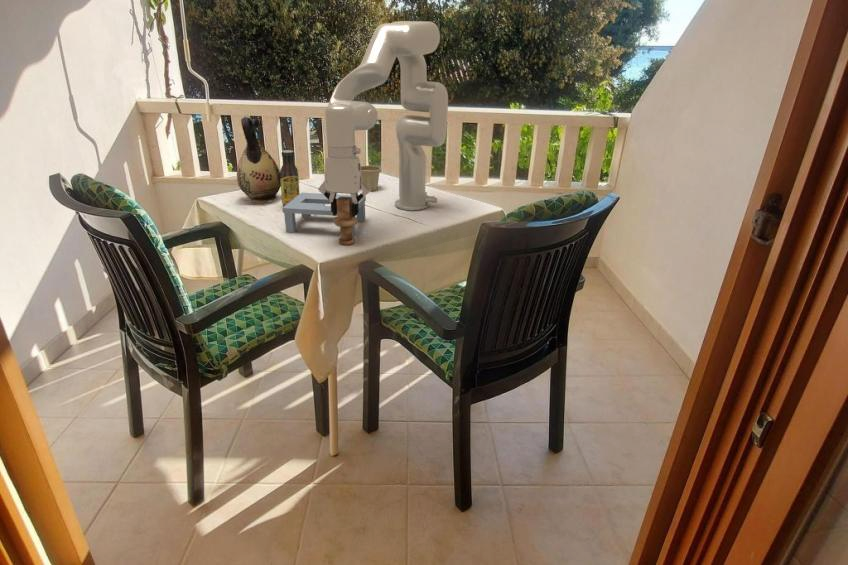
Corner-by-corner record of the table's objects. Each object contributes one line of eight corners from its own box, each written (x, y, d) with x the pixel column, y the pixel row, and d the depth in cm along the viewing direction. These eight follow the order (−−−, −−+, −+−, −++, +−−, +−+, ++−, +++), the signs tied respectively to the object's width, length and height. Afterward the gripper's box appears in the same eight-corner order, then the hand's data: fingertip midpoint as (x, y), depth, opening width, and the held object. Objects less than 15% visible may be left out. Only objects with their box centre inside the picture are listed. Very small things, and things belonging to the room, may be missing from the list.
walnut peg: (359, 239, 150) (357, 196, 144) (354, 247, 144) (352, 202, 138) (339, 237, 151) (336, 194, 145) (333, 245, 145) (330, 201, 139)
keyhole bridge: (303, 215, 169) (301, 192, 165) (366, 219, 166) (365, 196, 163) (285, 232, 154) (282, 207, 150) (353, 237, 151) (352, 212, 148)
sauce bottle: (284, 211, 172) (278, 153, 163) (280, 206, 177) (274, 150, 168) (303, 208, 175) (298, 152, 166) (298, 203, 180) (293, 148, 171)
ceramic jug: (246, 193, 190) (234, 112, 177) (286, 193, 191) (278, 112, 178) (234, 207, 175) (220, 119, 161) (278, 207, 176) (268, 120, 163)
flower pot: (358, 186, 202) (357, 165, 198) (381, 186, 203) (380, 165, 200) (357, 192, 194) (357, 171, 190) (381, 192, 195) (381, 170, 191)
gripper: (375, 150, 138) (376, 212, 146) (316, 147, 140) (320, 209, 148) (369, 156, 131) (371, 221, 139) (307, 153, 133) (312, 217, 141)
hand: (345, 214), depth 143 cm, fingers open, 5 cm apart
